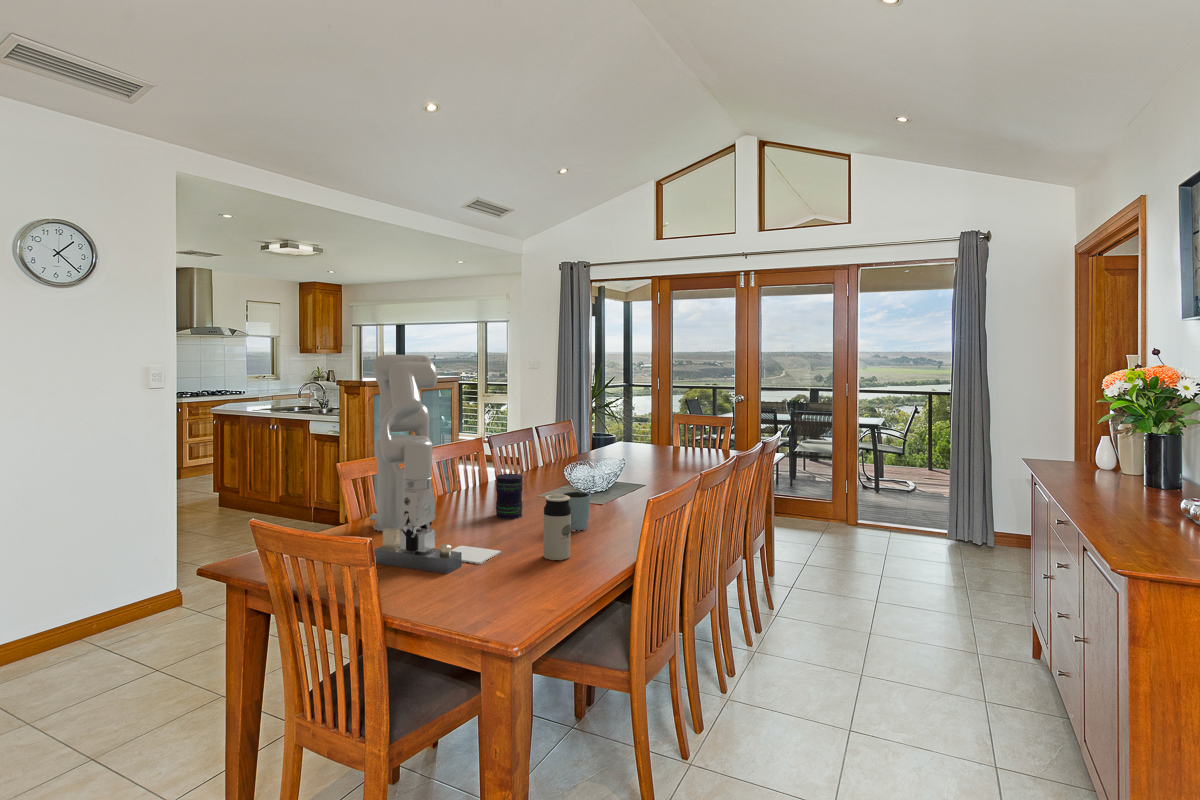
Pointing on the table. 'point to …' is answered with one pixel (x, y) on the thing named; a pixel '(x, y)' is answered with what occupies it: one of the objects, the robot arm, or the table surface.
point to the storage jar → (509, 496)
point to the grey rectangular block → (420, 539)
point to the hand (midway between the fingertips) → (417, 547)
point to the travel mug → (557, 527)
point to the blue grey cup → (579, 509)
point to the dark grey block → (416, 555)
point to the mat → (475, 554)
